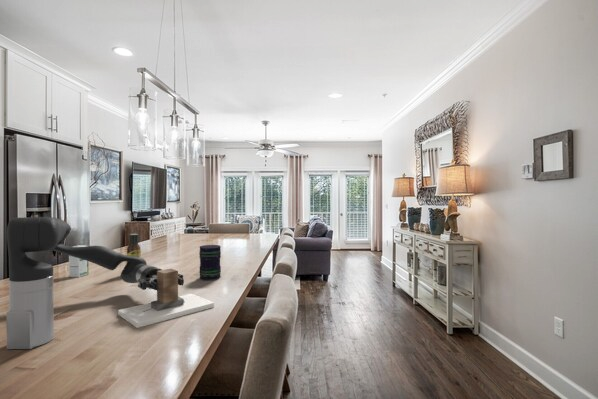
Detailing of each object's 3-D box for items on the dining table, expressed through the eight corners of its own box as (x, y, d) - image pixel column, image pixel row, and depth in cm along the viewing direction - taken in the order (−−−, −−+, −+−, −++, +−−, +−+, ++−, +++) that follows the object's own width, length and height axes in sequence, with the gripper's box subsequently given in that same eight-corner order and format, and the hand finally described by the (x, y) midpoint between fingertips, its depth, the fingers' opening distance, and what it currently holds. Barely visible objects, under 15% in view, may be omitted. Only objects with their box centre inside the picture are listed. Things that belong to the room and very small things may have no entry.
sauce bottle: (131, 276, 163) (131, 235, 163) (123, 274, 166) (123, 234, 166) (143, 273, 169) (143, 233, 169) (135, 272, 172) (135, 233, 172)
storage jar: (212, 274, 167) (212, 244, 167) (225, 277, 161) (225, 246, 161) (195, 278, 160) (195, 246, 159) (207, 281, 153) (207, 248, 153)
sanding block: (157, 311, 109) (157, 274, 109) (151, 307, 113) (151, 271, 113) (183, 304, 116) (183, 269, 116) (176, 301, 119) (176, 267, 119)
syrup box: (79, 277, 161) (78, 247, 161) (68, 276, 162) (68, 246, 162) (88, 274, 166) (88, 245, 166) (78, 274, 168) (78, 244, 168)
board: (137, 327, 99) (137, 322, 99) (118, 314, 111) (118, 310, 111) (214, 307, 118) (214, 302, 118) (191, 297, 129) (191, 293, 129)
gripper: (129, 269, 119) (148, 277, 108) (169, 263, 129) (190, 270, 118) (130, 290, 119) (148, 300, 108) (169, 283, 129) (190, 291, 118)
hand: (170, 284), depth 113 cm, fingers open, 8 cm apart
